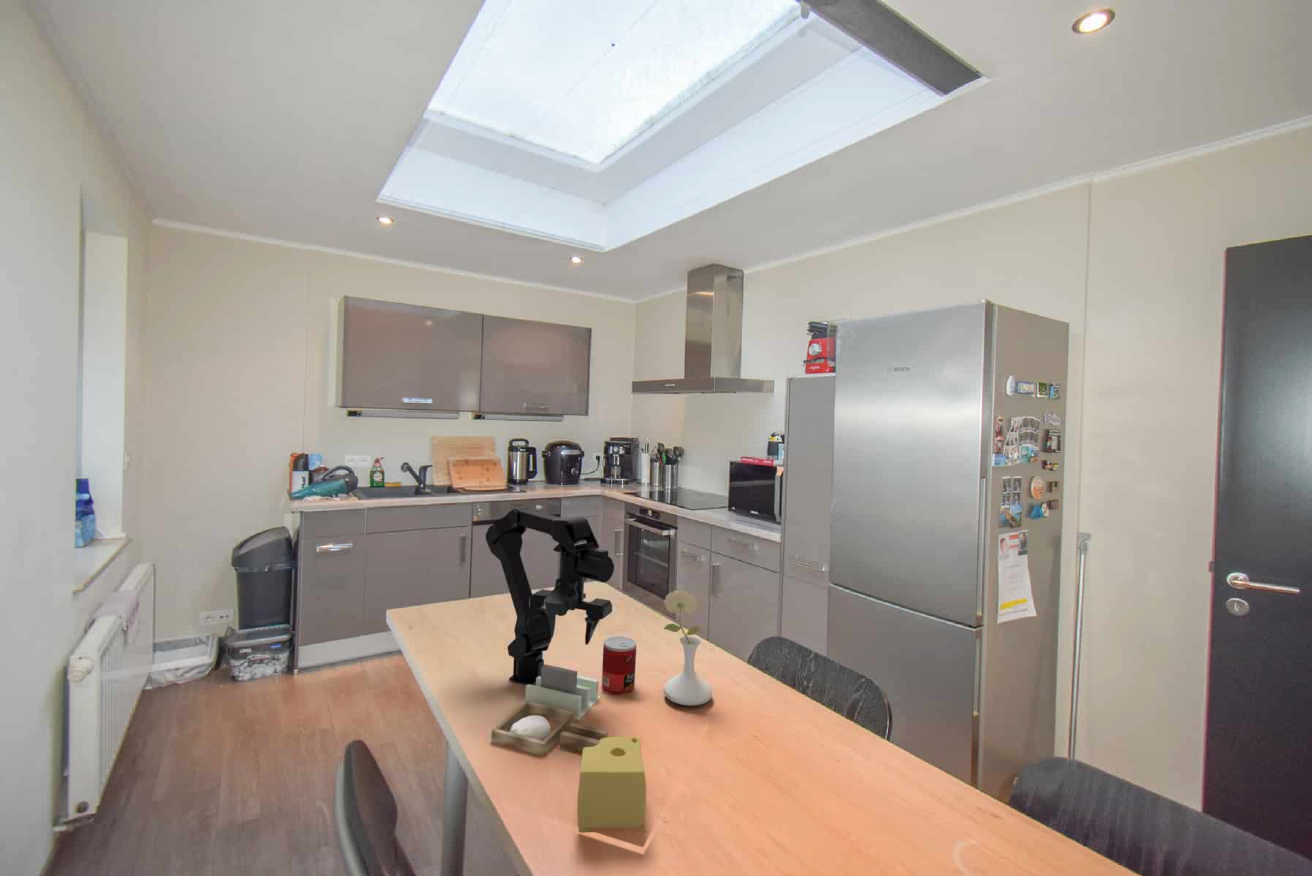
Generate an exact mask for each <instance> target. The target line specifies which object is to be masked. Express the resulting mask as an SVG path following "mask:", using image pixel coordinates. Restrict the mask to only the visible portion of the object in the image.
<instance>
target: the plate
mask: <svg viewBox="0 0 1312 876" xmlns="http://www.w3.org/2000/svg"><path fill="white" fill-rule="evenodd" d="M577 675H578V671H577V670H574V669H573V670H572V669H569V668H565V667H561V666H555V665H551V664H545V663H544V666H542V667H541V687H544V688H548V689H552V690H557V691H561V692H565V693H570V694H574V695H576V689H577Z"/></svg>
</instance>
